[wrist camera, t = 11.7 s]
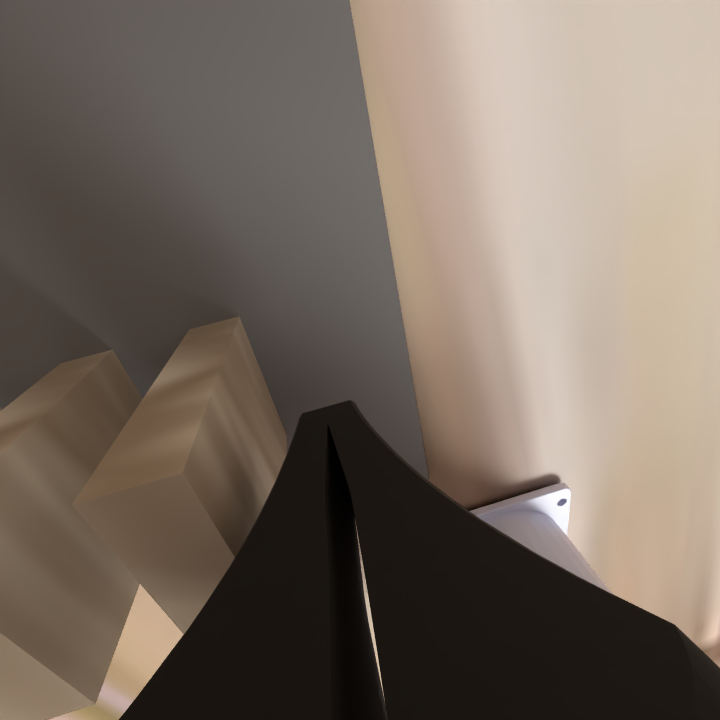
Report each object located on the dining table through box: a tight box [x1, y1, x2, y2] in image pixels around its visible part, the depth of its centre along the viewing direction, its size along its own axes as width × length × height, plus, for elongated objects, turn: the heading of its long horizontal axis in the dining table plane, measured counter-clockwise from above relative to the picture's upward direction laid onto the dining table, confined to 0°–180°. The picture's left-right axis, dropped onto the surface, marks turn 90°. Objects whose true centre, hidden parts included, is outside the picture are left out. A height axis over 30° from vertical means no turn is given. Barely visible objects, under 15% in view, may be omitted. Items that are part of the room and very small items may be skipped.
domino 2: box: [72, 316, 287, 634], centre depth 9 cm, size 2×5×7 cm, turn 11°
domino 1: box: [0, 350, 143, 720], centre depth 9 cm, size 2×5×7 cm, turn 11°
